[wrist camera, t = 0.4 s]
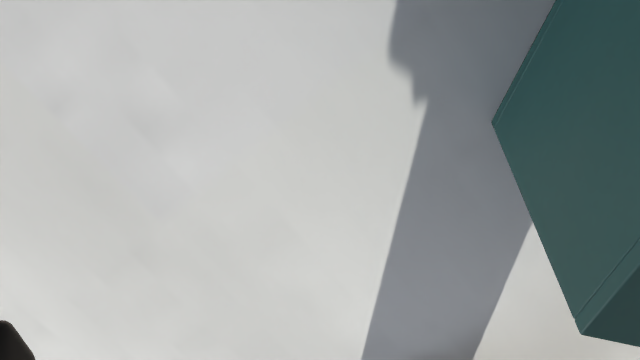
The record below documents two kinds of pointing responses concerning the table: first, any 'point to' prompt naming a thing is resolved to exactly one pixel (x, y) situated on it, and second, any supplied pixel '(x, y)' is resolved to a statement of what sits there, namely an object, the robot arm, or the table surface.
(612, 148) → the teal box
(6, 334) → the robot arm
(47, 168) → the table surface
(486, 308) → the table surface
